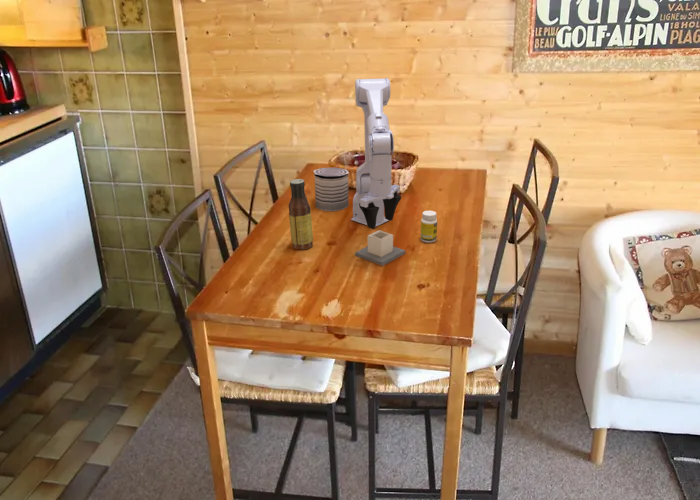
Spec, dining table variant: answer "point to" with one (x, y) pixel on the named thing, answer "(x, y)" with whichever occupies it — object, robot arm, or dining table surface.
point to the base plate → (379, 260)
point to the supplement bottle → (429, 226)
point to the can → (331, 189)
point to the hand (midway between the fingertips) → (380, 223)
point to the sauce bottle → (300, 216)
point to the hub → (380, 243)
